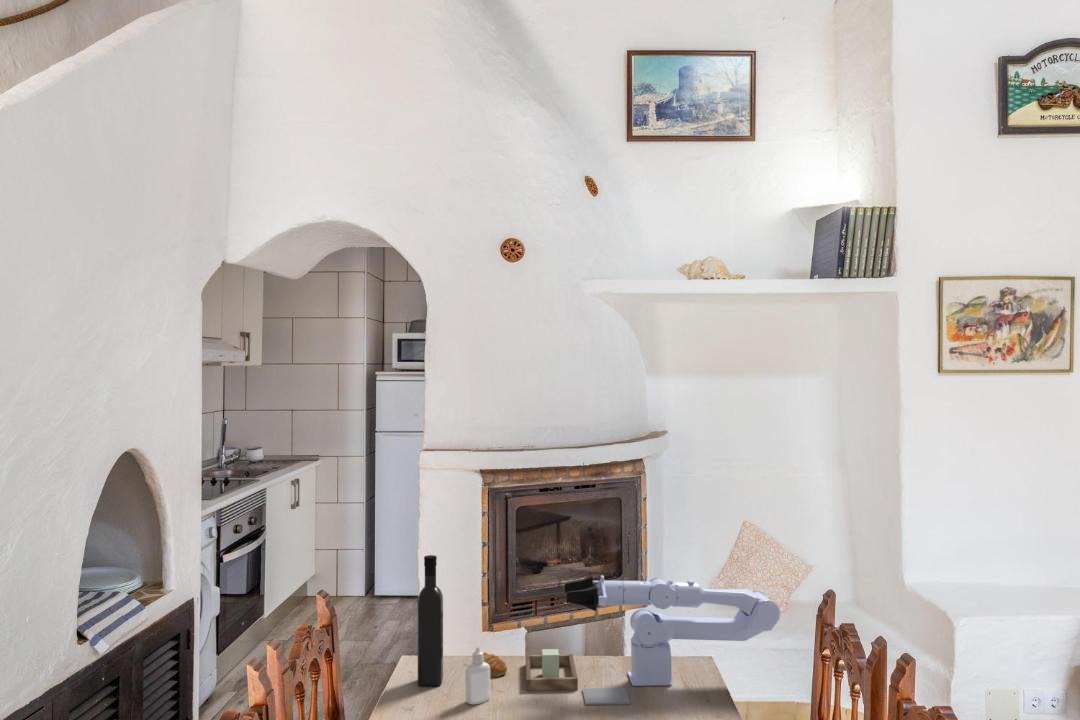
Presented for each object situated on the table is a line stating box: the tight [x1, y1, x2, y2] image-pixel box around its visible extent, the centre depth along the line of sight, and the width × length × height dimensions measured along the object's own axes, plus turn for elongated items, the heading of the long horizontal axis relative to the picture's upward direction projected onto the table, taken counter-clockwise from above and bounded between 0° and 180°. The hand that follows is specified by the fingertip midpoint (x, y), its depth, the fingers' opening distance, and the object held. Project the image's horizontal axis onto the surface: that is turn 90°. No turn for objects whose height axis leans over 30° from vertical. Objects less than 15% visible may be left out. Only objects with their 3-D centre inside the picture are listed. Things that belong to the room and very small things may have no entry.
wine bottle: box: [417, 554, 444, 687], centre depth 176 cm, size 6×6×30 cm
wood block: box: [541, 648, 560, 678], centre depth 178 cm, size 4×4×6 cm
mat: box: [581, 687, 631, 706], centre depth 166 cm, size 10×8×1 cm
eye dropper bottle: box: [465, 646, 491, 706], centre depth 165 cm, size 4×6×12 cm
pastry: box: [482, 651, 508, 678], centre depth 182 cm, size 9×7×4 cm
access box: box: [525, 653, 579, 692], centre depth 178 cm, size 12×16×2 cm
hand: (565, 592), depth 176 cm, fingers open, 7 cm apart
